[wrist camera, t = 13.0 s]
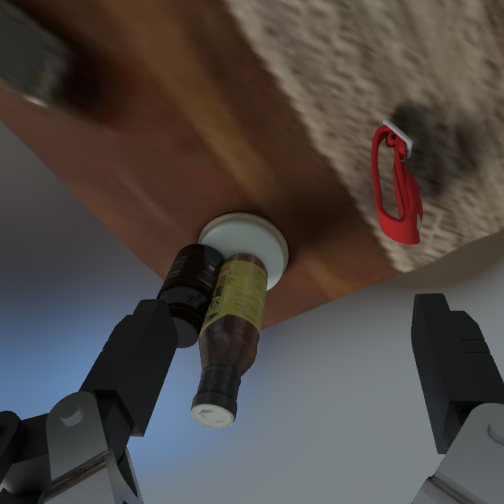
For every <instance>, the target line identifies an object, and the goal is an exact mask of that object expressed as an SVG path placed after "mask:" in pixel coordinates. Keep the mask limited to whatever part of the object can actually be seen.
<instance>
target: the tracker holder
mask: <svg viewBox="0 0 504 504" xmlns="http://www.w3.org/2000/svg"><path fill="white" fill-rule="evenodd" d="M383 139H386V142H385V143H386V146H387V147H390V148H391V147H393V148H394V167H393V181H394V188H395V196H396V202H397V207H398V213H399V217H400V220H399V219H397V218H394V217H392V216H390V215H389V214H388V213H387V212H386V211H385V210H384V208H383V206H382V198H381V189H380V181H379V172H378V163H377V156H378V147H379V145H380V143H381V141H382V140H383ZM405 142H406V143H407V151H406V143H405ZM412 144H413V141H412V140H411V139H410V138H409V137H408V136H407V135H405V134H404V133H403V132H402V131H401V129H400V128H399V127H397V126H395V125H394V124H393V123H392V122H390V121H389V120H388V119H387V118H385V119H384V120H383V126H381V127H380V128H379V129H378V130H377V131H376V132H375V135H374V137H373V142H372V151H371V166H372V175H373V184H374V193H375V202H376V208H377V214H378V220H379V224H380V227H381V229H382V230H383V232H384V233H385V234H386V235H387V236H388V237H390V238H391V239H393V240H395V241H397V242H400V243H404V244H408V245H415V244H418V243H419V242H420V237H419V230H420V228H421V221H422V217H423V210H422V199H421V195H420V191H419V188H418V184H417V182H416V180H415V179H414V177H413V176H412V175H411V174H410V173H408V170H407V168H406V165H405V163H404V162H401V161H400V159H401V160H404V159H405V157H406V158H410V156H411V150H412Z"/></svg>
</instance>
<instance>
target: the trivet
mask: <svg viewBox="0 0 504 504" xmlns="http://www.w3.org/2000/svg"><path fill="white" fill-rule="evenodd" d="M198 244H205V245H209V246H211V247H213V248H215V249H216V250H218V251H219V252H220V253H221V254H222V255H223V257H224V258H225V260H226V259H227V258H228V257H230V256H232V255H234V254H238V253H245V254H251V255H253V256H256V257H257V258H258V259H260V260H261V261H262V262H263V263H264V265H265V267H266V269H267V272H268V278H267V280H268V283H267V290H269V289H270V288H272V287H273V286H274V285H275V284H276V283H277V282H278V281H279V279H280V277H281V275H282V274H283V272H284V271H285V269H286V266H287V263H288V256H289V250H288V245H287V242H286V239H285V238H284V236H283V234H282V233H281V231H280V230H279V229H278V228H277V227H276V226H275V225H274V224H272V223H271V222H270V221H268V220H266V219H265V218H262V217H260V216H258V215H255V214H251V213H245V212H233V213H227V214H223V215H221V216H218V217H216V218H214V219H213V220H211V221H210V222H209V223H208V224H207V225H206V226H205V227H204V229H203V230H202V233H201V235H200V237H199V240H198Z"/></svg>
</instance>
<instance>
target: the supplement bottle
mask: <svg viewBox="0 0 504 504" xmlns="http://www.w3.org/2000/svg"><path fill="white" fill-rule="evenodd" d="M224 262H225V258H224V257H223V255H222V254H221V253H220V252H219V251H218V250H216V249H215V248H213V247H211V246H209V245H205V244H191V245H188V246H185V247H184V248H182V249H181V250H180V251H179V252H178V254H177V256H176V258H175V260H174V262H173V264H172V266H171V268H170V270H169V272H168V274H167V276H166V278H165V281H164V283H163V285H162V287H161V289H160V291H159V293H158V296H157V298H156V299H164V300H165V301H166V303H167V305H168V308H169V310H170V313H171V316H172V318H173V321H174V324H175V326H176V329H177V333H178V344H177V348H187V347H190V346H192V345H194V344H195V343H196V342H197V340H198V338H199V335H200V333H201V329H202V326H203V322H204V319H205V316H206V313H207V311H208V308H209V306H210V304H211V302H212V299H213V295H214V292H215V288H216V285H217V281H218V278H219V274H220V270H221V267H222V266H223V264H224Z"/></svg>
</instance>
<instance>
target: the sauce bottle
mask: <svg viewBox="0 0 504 504" xmlns="http://www.w3.org/2000/svg"><path fill="white" fill-rule="evenodd" d="M267 278H268V272H267V269H266V267H265V265H264V263H263V262H262V261H261V260H260V259H258V258H257V257H256V256H253V255H251V254H245V253H238V254H234V255H232V256H230V257H228V258H227V259H226V260H225V262H224V264H223V266H222V267H221V270H220V274H219V278H218V281H217V285H216V288H215V292H214V295H213V299H212V302H211V304H210V306H209V308H208V311H207V313H206V316H205V319H204V322H203V326H202V329H201V333H200V336H199V349H200V357H201V365H202V373H201V380H200V384H199V387H198V392H197V394H196V395H195V397H194V398H193V402H192V407H191V416H192V417H193V418H194V419H195V420H196V421H197V422H199V423H200V424H202V425H204V426H207V427H211V428H224V427H229V426H231V425H232V424H233V423H234V421H235V418H236V413H237V402H236V400H237V394H238V389H239V386H240V383H241V376H242V375H243V374H244V373H246V371H247V370H248V369H250V367H251V366H252V364H253V363H254V361H255V357H256V354H257V345H258V341H259V338H260V332H261V325H262V318H263V311H264V304H265V298H266V291H267V283H268V280H267Z"/></svg>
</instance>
